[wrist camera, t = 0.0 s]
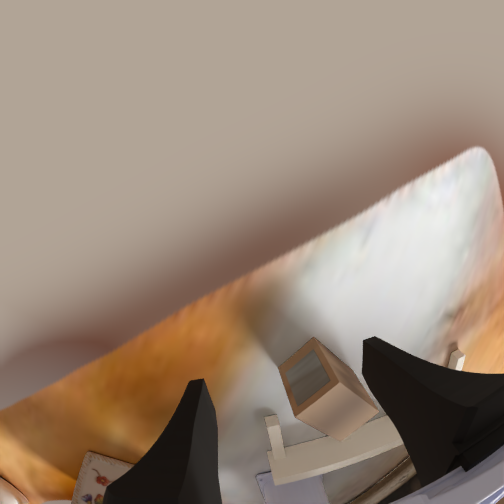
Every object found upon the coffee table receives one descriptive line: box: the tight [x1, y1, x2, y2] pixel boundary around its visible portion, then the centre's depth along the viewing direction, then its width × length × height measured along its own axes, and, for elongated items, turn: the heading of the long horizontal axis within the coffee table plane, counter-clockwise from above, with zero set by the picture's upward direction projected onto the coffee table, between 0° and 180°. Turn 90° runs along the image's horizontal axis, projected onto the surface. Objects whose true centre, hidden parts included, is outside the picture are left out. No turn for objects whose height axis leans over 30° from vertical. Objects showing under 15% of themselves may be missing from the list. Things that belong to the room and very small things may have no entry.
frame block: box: [278, 337, 379, 442], centre depth 22 cm, size 6×4×6 cm, turn 45°
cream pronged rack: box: [264, 349, 465, 486], centre depth 26 cm, size 8×24×5 cm, turn 100°
